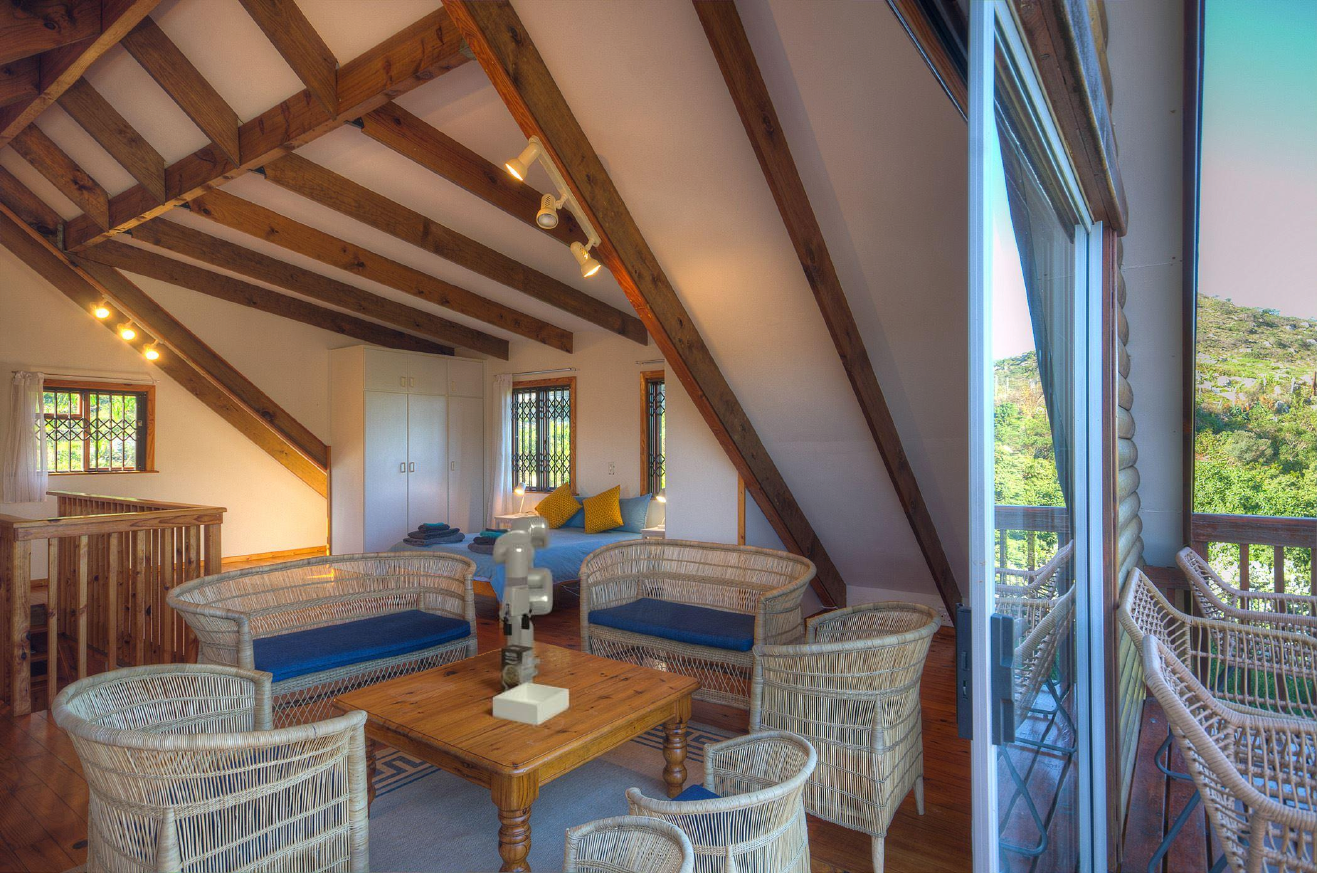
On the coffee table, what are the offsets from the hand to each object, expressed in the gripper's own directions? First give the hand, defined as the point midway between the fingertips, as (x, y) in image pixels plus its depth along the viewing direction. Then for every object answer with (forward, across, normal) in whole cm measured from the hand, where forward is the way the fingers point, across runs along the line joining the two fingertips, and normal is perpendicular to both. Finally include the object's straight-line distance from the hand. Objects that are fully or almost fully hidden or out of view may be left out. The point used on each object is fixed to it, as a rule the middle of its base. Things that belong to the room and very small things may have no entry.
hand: (516, 632), depth 252 cm
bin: (+22, +11, +15) cm, 28 cm away
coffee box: (+22, -1, 0) cm, 22 cm away
